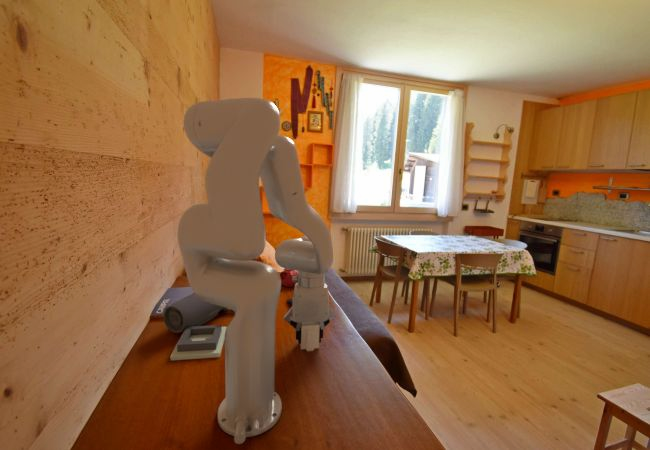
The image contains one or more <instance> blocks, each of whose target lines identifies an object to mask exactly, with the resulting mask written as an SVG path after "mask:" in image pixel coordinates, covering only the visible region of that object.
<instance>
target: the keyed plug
mask: <svg viewBox="0 0 650 450" xmlns="http://www.w3.org/2000/svg"><path fill="white" fill-rule="evenodd" d="M319 329H320V325H319V322H306V323H302V324H301V344H299V346H300V350H306V352H313V351H315V350H316V349H320V343H319Z"/></svg>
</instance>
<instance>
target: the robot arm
mask: <svg viewBox="0 0 650 450" xmlns="http://www.w3.org/2000/svg"><path fill="white" fill-rule="evenodd" d="M183 117H184V118H183V129H184V132H185V134H186V137H187V139H188V141H189V142H190V143H191V145H193V146H194V148H196V149H197V150H198V151H200V153H202V154H203V155H205V156H207V157H209V158H210V160H209V161H208V165H207V167H206V171H205V176H204V187H205V193H206V199H207V203H197V204H193V205H192V206H190V207H188V208H187V209H186V210H185V211H184V212H183V213H182V215H181V217H180V219H179V221H178V226H177V232H176V233H177V242H178V243H177V244H178V248H179V251H180V255H181V258H182V261H183V265H184V269H185V270H184V271H185V273H186V277H187V280H188V283H189V286H190V289H191V290H192V294H193V293H194V294H195V296H196V297H197V298H199V299H200V300H202V301H204V302H207V303H211V304H215V305H219V306H223V307H225V308H227V309H229V310H232V311H233V312H234V316H233V318H232V319H231V320H230V322H229V323H228V325H227V326H226V327H227V328H226V331H225V340H224V367H225V368H224V370H225V371H224V372H225V380H224V381H225V398H223V400H222V401H221V403H220V404H219V406H218V408H217V409H218V410H217V423H218V425H219V427H220V429H221V430H223V432H224V433H227V434H228V435H229V436H232V437H233V441H234V443H235V444H237V445H241V444H243V443H244V442H245V441H246V439H247V438H249V437H256V436H258V435H261V434H263V433H265V432H267V431H268V430H270V429H271V428H272V427H274V426H275V424H277V422H278V420H279V419H280V417H281V414H282V409H283V403H282V399H281V397H280V395H279V394H278V392H276V391H275V381H276V380H275V374H276V373H275V370H276V369H275V368H276V367H275V366H276V365H275V364H276V363H275V362H276V358H275V357H276V320H277V312H278V304H279V300H280V296H281V290H282V284H281V278H280V273H279V272H278V270H277V269H276V268H274V267H273V266H272V265H270V264H267V263H265V262H262V261H257V260H254V259H258V258H259V257H260V256H261V255H262V253H263V252H264V251H265V248H266V243H267V242H266V241H267V239H266V238H267V236H266V234H267V233H266V227H265V226H266V225H265V220H264V213H263V206H262V200H261V191H260V181H261V184H262V188H263V192H264V194H265V199H266V203H267V206H268V210H269V212H270V213H271V214H272V216H273V217H275V218H277V219H278V220H279V221H282V222H283V223H284V224H286V225H288V226H290V227H292V228H294V229H296V230H297V231H299V232H300V233H302V234H303V235H302V236H301V237H300V238H289V239H285V240H283V241H281V242H280V243H278V245H277V247H276V249H275V251H274V259H275V263H276V264H277V265H278V266H280V268H283V269H290V270H296V271H298V273H297V276H293V277H292V281H295V282H297V283H296V284H295V287H294V289H293V295H292V299H293V302H292V304H291V307H290V308H289V310H288V311H287V312H286V313H285V315H284V316H283V320H284V321H285V322H286V323H288V324H289V325H290V326H291V327H292V328H294V329H295V340H296V341H298V343H297V344H298V345H300V344H301V324H302V323H306V322H319V325H320V329H319V344H321V343H322V339H323V338H324V330H325V328H326V326H328V325H329V324H330V323H331V321H333V320H334V319H335V318H336V317H337V316H336V314H335V312H334V311H333V310H332V308H331V307H330V295H329V287H328V285H327V283H326V281H325V280H326V273H328V272H330V270H331V268H332V265H333V264H334V248H333V241H332V236H331V231H330V227H328V224H327V223H326V222H325V220H324V219H323V218H322V217H321V215H320V214H319V213H318V212H317V211H316V210H315V209H314V207H312V206H311V205H310V204H309V203H308V200H307V197H306V191H305V188H304V182H303V177H302V171H301V164H300V160H299V154H298V150H297V147H296V145H295V142H294V141H293V140H292V139H291V138H289V137H288V136H285V135H282V134H279V133H280V128H281V115H280V112H279V109H278V107H277V106H276V105H275V103H274V102H272V101H270V100H268V99H265V98H260V97H238V98H228V99H216V100H215V99H214V100H204V101H199V102H196V103H193V104H191V106H189V107H188V109H186V111H185V113H184V116H183Z"/></svg>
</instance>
